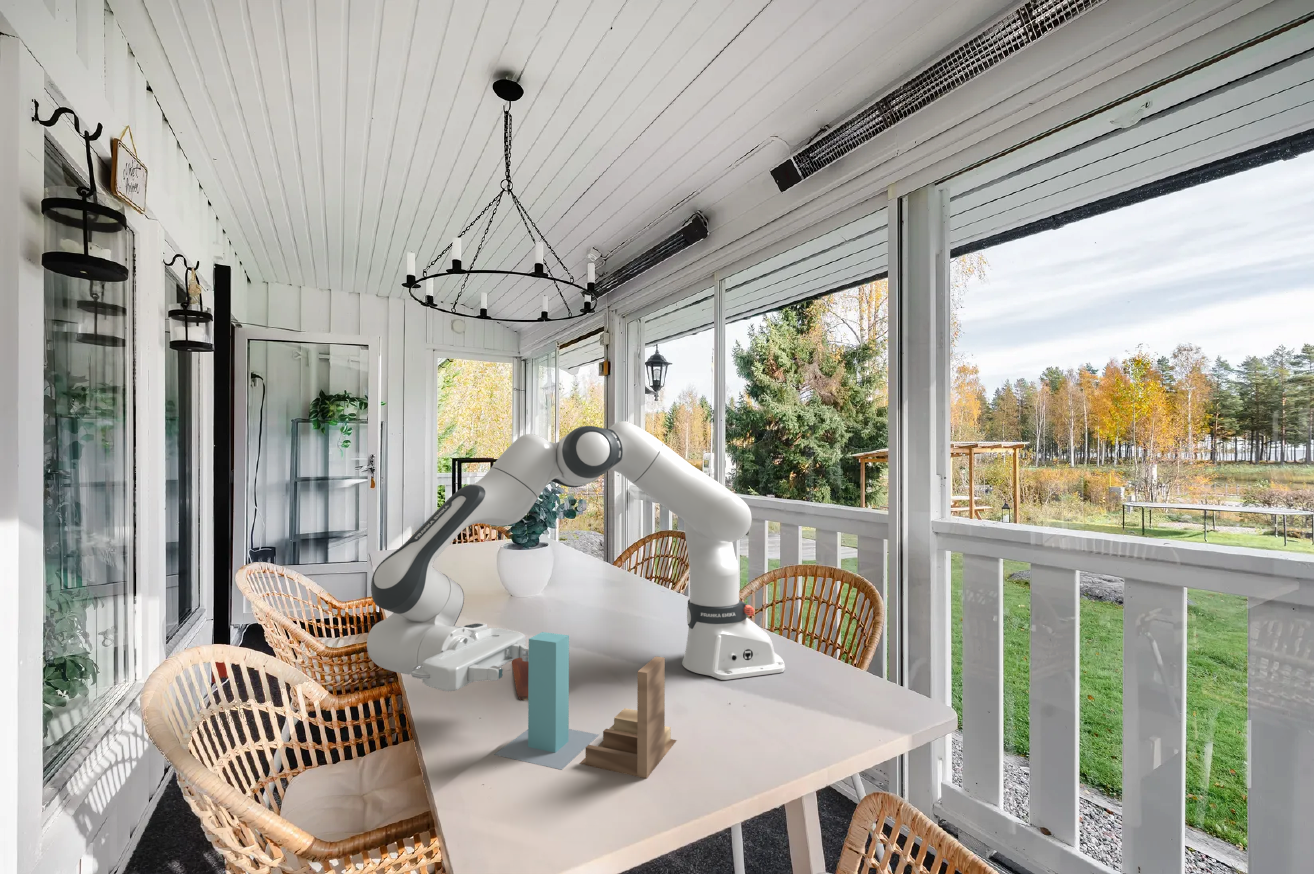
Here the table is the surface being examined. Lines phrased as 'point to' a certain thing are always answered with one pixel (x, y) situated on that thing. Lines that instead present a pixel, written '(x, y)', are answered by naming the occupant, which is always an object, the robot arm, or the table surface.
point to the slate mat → (546, 758)
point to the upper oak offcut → (626, 721)
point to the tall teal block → (548, 691)
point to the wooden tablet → (521, 677)
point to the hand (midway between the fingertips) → (517, 664)
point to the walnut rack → (649, 743)
